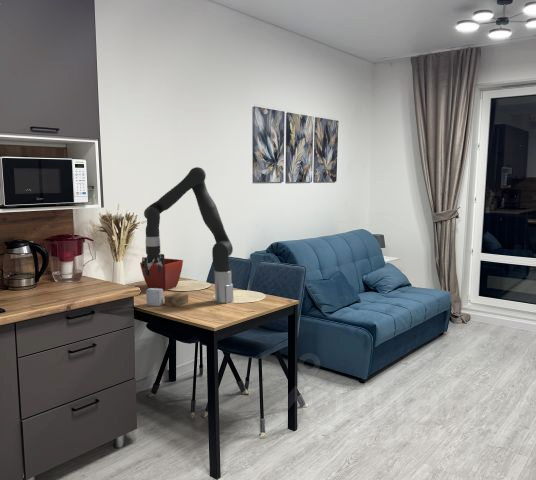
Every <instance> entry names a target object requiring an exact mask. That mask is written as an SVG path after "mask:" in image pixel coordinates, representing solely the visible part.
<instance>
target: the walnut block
mask: <svg viewBox="0 0 536 480" xmlns="http://www.w3.org/2000/svg"><path fill="white" fill-rule="evenodd" d="M163 302H164V305H165V306H170V307H176V308H178V307H181V306H183V305H187V304H189V294H188V293H187V294H186V293H180V292H173V293H170V294H167V295H163Z"/></svg>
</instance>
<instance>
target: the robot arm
mask: <svg viewBox="0 0 536 480" xmlns="http://www.w3.org/2000/svg"><path fill="white" fill-rule="evenodd" d="M206 178H207V175H206V172H205V170H204V169H203V168H201V167H199V166H197V167H192V168H191V169H190V170H189V172H188V173H187V174H186V175H185V176H184V178H183V179H182V180H181V181H180V182H178V183H177V184H176V185H175V186H173V188H171V189H170V190H168V191H167V192H166V193H164V195H162V196H161V197H160V198H159V199H158V200H157V201H154V202H153V203H151V204H150V205H148V206H147V207H146V208H145V209H144V212H143V216H144V218H145V219H146V226H145V254H146V257H144V256H142V258H141V262H142V268H143V269H145V272H146V276H150V267H151V266H152V264H155V263H156V264H157V265H158V273H159V274H161V273H162V266H163V265H165V259H166V258H165V254H164V253H161V238H160V222H161V221H160V220H161V214H162V213H163V212H165V211H167V210H169V209H170V208H172V207H173V205H175V204H176V203H177V202H178V201H180V199H181V198H182V197H183V196H184V195H185V194H186V193H188V191H190V190H191V189H192V192H193V193H194V196H195V200H196V202H197V206H198V209H199V212H200V215H201V218H202V220H203V222H204V224H205V225H206V227H207V229H209V231H210V232H211V234H212V236H213V238H214V241H215V244H214V245H212V246H213V247H212V250H211V251H212V252H211V255H212V266H213V268H214V269H213V270H214V301H215V303H218V304H228V303H231V302H234V284H233V283H232V265H231V264H230V261H229V259H230V258H229V257H230V256H231V255H232V254H233V250H234V249H233V245H232V244H233V243H232V242H231V240H230V239H229V235H228V234H227V232H226V230H225V227H224V224H223V222H222V218H221V216H220V213H219V210H218V207H217V205H216V203H215V201H214V199H212V197H211V195H210V193H209V191H208V189H207V186H206V183H205V182H206ZM159 258H160V259H159ZM162 261H163V263H162ZM149 263H150V264H149ZM144 264H145V266H144ZM230 301H231V302H230Z"/></svg>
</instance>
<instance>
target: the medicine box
mask: <svg viewBox="0 0 536 480" xmlns="http://www.w3.org/2000/svg"><path fill="white" fill-rule="evenodd" d="M145 290H146V291H145V294H146V295H145V296H146V305H147V306H152V307H153V306H154V307H161V306H163V305H165V301H164V291H163V289H158V288H149V289H148V288H147V289H145Z"/></svg>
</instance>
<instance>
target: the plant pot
mask: <svg viewBox="0 0 536 480" xmlns="http://www.w3.org/2000/svg"><path fill="white" fill-rule="evenodd" d="M159 259H160V258H159ZM162 263H163V261H162ZM183 263H184V259H176V258H165V265H163V266H162V273H161V274H159V273H158V265H157V264H156V263H155V264H152V266H151V267H150V276H146V272H145V269H143V268H142V261H141V262H139V265H140V269H141V273H142V276H143V280H144V281H145V284H146V287H147V289H149V288H158V289H163V292H164V291H168V290H170V288H171V289H174V288H176V286H177V287H178V284H179V281H180V277H181V273H182V271H183ZM149 264H150V263H149ZM144 266H145V264H144ZM173 287H174V288H173Z"/></svg>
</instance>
